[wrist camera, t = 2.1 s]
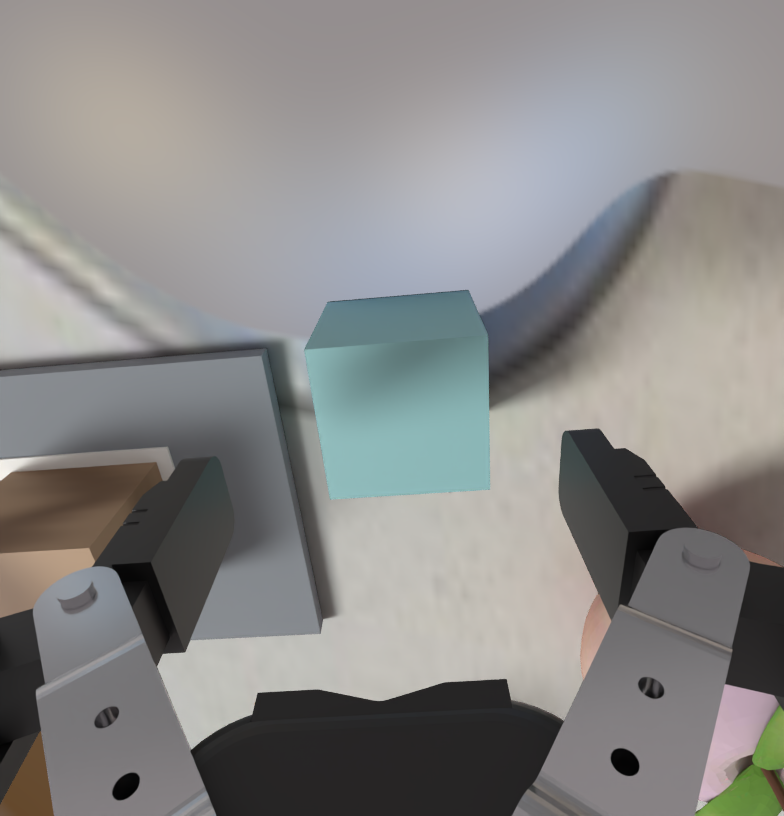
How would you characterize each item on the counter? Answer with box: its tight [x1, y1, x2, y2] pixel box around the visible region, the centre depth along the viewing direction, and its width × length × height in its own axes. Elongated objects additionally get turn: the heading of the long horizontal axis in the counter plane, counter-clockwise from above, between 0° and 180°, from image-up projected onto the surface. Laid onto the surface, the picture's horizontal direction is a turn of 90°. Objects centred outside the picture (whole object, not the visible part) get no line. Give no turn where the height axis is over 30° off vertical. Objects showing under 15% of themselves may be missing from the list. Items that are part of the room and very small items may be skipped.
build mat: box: [0, 348, 323, 640], centre depth 23 cm, size 14×14×1 cm
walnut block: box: [0, 462, 163, 618], centre depth 20 cm, size 6×6×5 cm
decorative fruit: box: [580, 549, 784, 816], centre depth 20 cm, size 9×8×10 cm
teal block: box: [304, 290, 490, 499], centre depth 18 cm, size 5×5×5 cm
